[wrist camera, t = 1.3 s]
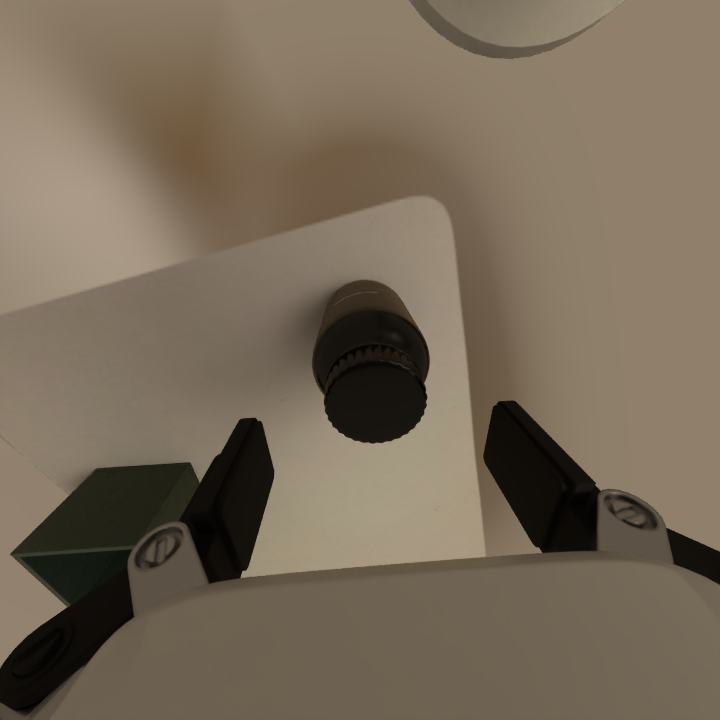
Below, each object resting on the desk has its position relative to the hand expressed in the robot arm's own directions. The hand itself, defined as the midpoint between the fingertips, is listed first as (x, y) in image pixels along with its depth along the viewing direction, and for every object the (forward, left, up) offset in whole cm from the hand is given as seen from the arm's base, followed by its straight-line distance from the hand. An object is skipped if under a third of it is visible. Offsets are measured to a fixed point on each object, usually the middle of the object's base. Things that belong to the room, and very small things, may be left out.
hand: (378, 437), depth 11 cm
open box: (+19, -24, -14) cm, 34 cm away
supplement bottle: (0, 0, -14) cm, 14 cm away
